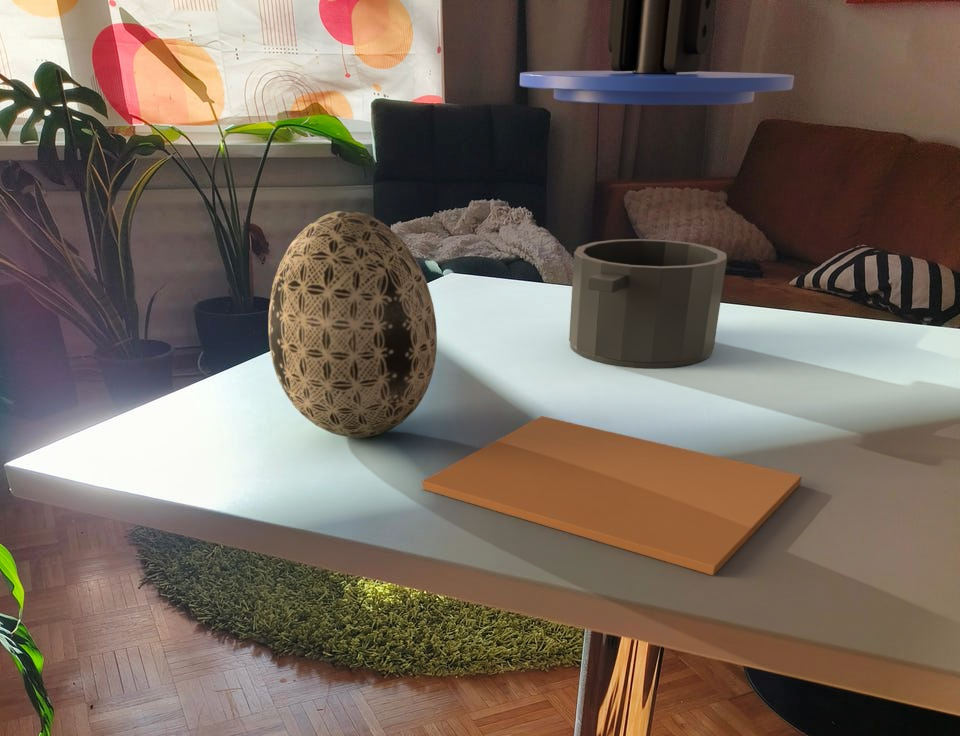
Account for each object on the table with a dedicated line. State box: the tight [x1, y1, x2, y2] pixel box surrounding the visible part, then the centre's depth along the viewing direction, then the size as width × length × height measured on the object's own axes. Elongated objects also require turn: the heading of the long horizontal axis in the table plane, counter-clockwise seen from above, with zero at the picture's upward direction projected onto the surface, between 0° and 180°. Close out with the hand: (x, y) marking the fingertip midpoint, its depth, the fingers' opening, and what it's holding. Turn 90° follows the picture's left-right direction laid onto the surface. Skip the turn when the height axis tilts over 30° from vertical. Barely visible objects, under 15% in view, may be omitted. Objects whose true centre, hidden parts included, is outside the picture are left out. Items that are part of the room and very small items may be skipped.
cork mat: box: [422, 415, 803, 576], centre depth 58 cm, size 20×15×1 cm
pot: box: [568, 238, 728, 369], centre depth 83 cm, size 14×19×8 cm
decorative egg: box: [267, 210, 438, 439], centre depth 62 cm, size 12×12×15 cm
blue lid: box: [519, 0, 795, 106], centre depth 47 cm, size 15×15×7 cm
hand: (655, 67), depth 48 cm, fingers closed on blue lid, 2 cm apart
